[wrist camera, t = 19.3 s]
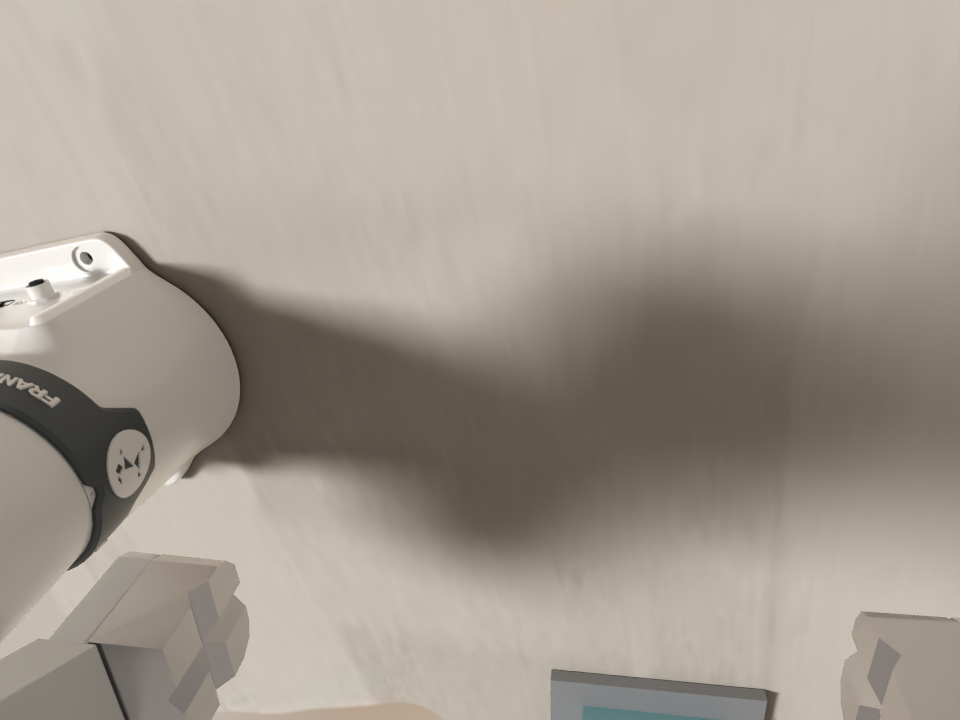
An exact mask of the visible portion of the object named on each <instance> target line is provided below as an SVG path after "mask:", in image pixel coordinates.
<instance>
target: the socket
mask: <svg viewBox="0 0 960 720" xmlns="http://www.w3.org/2000/svg"><path fill="white" fill-rule="evenodd" d="M766 706H767V697H766V692H765V690H761V689H750V688H740V687H729V686H719V685H708V684H697V683H687V682H676V681H666V680H655V679H645V678H634V677H624V676H613V675H603V674H592V673H582V672H571V671H561V670H552V673H551V720H764V717H765V711H766Z"/></svg>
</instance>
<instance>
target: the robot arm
mask: <svg viewBox="0 0 960 720" xmlns="http://www.w3.org/2000/svg"><path fill="white" fill-rule="evenodd" d="M87 253H89V254H90V255H91V256H92V258H93V260H91V259H90V258H89V257H88V255H87ZM239 399H240V380H239V373H238V368H237V364H236V361H235V358H234V355H233V353H232V350H231V348H230V346H229V344H228V342H227V340H226V338H225V337H224V335H223V333H222V332H221V330H220V329H219V327H218V326H217V325H216V323H215V322H214V321H213V319H212V318H211V317H210V316H209V315H208V314H207V313H206V311H205V310H204V309H203V308H202V307H201V306H200V305H199V304H197V303H196V302H195V301H194V300H193V299H192V298H191V297H189V296H188V295H187V294H185V293H184V292H183V291H181V290H180V289H178V288H177V287H175V286H174V285H172V284H170V283H169V282H167V281H165V280H164V279H162V278H160V277H158V276H157V275H155V274H154V273H152V272H151V271H150V270H148V269H147V268H146V267H145V266H144V265H143V264H142V263H141V261H140V260H139V259H138V258H137V257H136V256H135V255H134V253H133V252H132V251H131V250H130V249H129V248H128V247H127V246H126V245H125V244H124V243H123V242H122V241H121V240H120V239H118V238H117V237H116V236H114V235H112V234H110V233H105V232H100V233H94V234H90V235H85V236H81V237H76V238H71V239H67V240H62V241H58V242H53V243H48V244H44V245H39V246H35V247H30V248H25V249H21V250H16V251H12V252H7V253H2V254H0V643H1V642H2V641H3V640H4V639H5V638H6V637H7V636H8V635H9V633H10V632H11V631H12V630H13V629H14V628H15V627H16V626H17V625H18V623H19V622H20V621H21V620H22V619H23V618H24V617H25V616H26V615H27V613H28V612H29V611H30V610H31V609H32V608H33V607H34V606H35V605H36V604H37V603H38V602H39V600H40V599H41V598H42V597H43V596H44V595H45V594H46V593H47V592H48V590H49V589H50V588H51V587H52V586H53V585H54V584H55V583H56V582H57V581H58V579H59V578H60V577H61V576H62V575H63V574H64V573H65V572H66V571H68V570H70V569H72V568H75V567H77V566H78V565H80V564H81V563H83V562H84V561H85V560H86V559H87V558H88V557H90V556H91V555H92V554H93V552H94V551H95V552H96V551H97V550H98V549H99V548H100V547H101V546H102V545H103V544H104V543H105V542H106V541H107V538H108V537H109V536H110V535H111V534H112V533H113V532H114V530H115V529H116V528H117V527H118V526H119V525H120V524H121V523H122V521H123V520H124V519H125V518H126V517H128V516H129V515H130V514H131V513H132V512H133V511H134V510H136V509H137V508H138V507H139V506H140V505H141V504H142V503H143V502H145V501H146V500H147V499H148V498H149V497H150V496H151V495H152V494H153V493H155V492H156V491H157V490H158V489H159V488H160V487H161V486H162V485H172V484H174V483H176V482H177V481H178V480H179V479H180V478H181V477H182V476H184V474H185V473H186V472H187V470H188V469H189V467H190V465H191V463H192V461H193V458H194V456H195V455H196V454H198V453H199V452H200V451H202V450H203V449H204V448H206V447H207V446H209V445H210V444H212V443H213V442H215V441H216V440H217V439H218V438H220V437H221V436H222V435H223V434H224V433H225V431H226V430H227V429H228V428H229V426H230V425H231V423H232V421H233V419H234V417H235V415H236V412H237V409H238V405H239ZM239 583H240V581H239V578H238V574H237V571H236V568H235V565H234V564H232V563H230V562H227V561H220V560H211V559H201V558H192V557H183V556H173V555H164V554H162V555H156V554H147V553H138V552H128V553H126V554H124V555H122V556H120V557H118V558H117V560H116V561H115V562H114V563H113V564H112V565H111V567H110V568H109V569H108V570H107V571H106V573H105V574H104V575H103V576H102V577H101V578H100V580H99V581H98V582H97V583H96V584H95V586H94V587H93V588H92V589H91V590H90V591H89V593H88V594H87V595H86V596H85V597H84V599H83V600H82V601H81V602H80V603H79V604H78V606H77V607H76V608H75V609H74V610H73V611H72V613H71V614H70V615H69V616H68V617H67V619H66V620H65V621H64V622H63V623H62V624H61V626H60V627H59V628H58V629H57V631H56V632H55V633H54V634H53V635H52V636H51V637H50V639H49V640H45V639H37V640H35V641H34V642H32V643H30V644H28V645H26V646H24V647H23V648H21V649H19V650H17V651H15V652H14V653H12V654H10V655H8V656H6V657H4V658H3V659H1V660H0V720H211V719H212V718H213V716H214V714H215V712H216V710H217V708H218V707H219V705H220V704H219V699H218V695H217V690H216V689H217V688H219V687H220V686H222V685H223V684H224V683H226V682H227V681H229V680H230V679H231V678H233V677H234V676H235V675H236V673H237V671H238V669H239V667H240V665H241V663H242V661H243V659H244V655H245V651H246V647H247V643H248V639H249V617H248V613H247V609H246V606H245V605H244V604H243V603H242V602H241V601H240V600H239V599H238V598H237V597H236V596H235V595H234V592H235V590H236V588H237V587H238V585H239ZM852 637H853V640H854V643H855V645H856V648H857V652H856V653H855V654H853V655H852V656H850V657H849V658H848V659H846V660H845V663H844V667H843V672H842V677H841V706H842V712H843V718H844V720H960V618H950V619H949V618H946V617H933V616H919V615H905V614H891V613H877V612H861V613H860V614H859V616H858V617H857V618H856V620H855V624H854V627H853V631H852Z"/></svg>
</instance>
